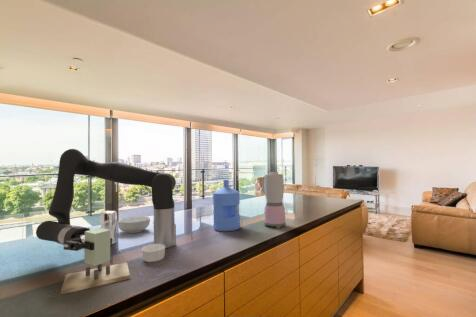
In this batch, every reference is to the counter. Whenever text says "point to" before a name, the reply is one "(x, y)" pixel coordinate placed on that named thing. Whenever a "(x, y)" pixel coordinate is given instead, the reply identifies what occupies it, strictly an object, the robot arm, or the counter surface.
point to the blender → (274, 199)
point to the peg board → (95, 277)
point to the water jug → (226, 208)
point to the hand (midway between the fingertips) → (102, 244)
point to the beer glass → (109, 223)
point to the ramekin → (153, 252)
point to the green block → (97, 246)
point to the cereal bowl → (133, 224)
